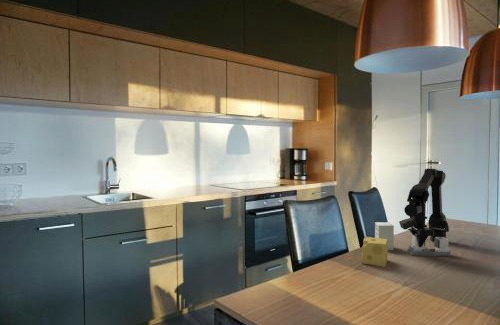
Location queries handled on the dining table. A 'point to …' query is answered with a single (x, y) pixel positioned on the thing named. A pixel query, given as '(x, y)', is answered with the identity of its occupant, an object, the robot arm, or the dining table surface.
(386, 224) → the supplement box
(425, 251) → the rail
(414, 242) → the block
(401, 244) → the dining table surface
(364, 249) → the cheese
